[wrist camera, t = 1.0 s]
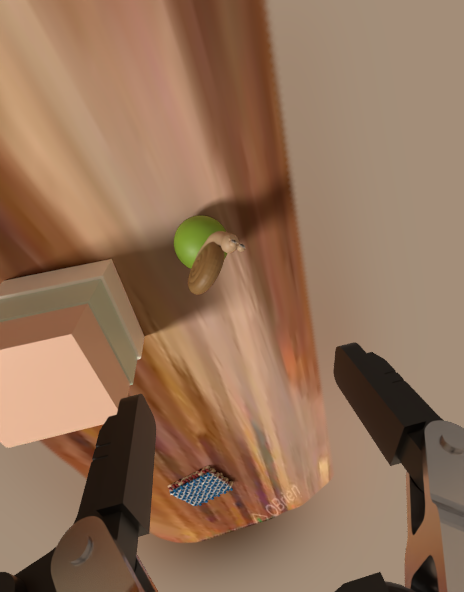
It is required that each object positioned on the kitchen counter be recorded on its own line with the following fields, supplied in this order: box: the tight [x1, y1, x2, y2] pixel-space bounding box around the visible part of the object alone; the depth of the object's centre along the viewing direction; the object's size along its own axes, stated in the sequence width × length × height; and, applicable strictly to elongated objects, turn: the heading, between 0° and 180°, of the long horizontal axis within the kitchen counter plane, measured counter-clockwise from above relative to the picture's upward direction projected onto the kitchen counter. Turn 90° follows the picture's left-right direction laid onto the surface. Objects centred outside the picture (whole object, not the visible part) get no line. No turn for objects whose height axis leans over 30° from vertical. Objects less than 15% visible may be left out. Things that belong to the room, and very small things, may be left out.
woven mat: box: [168, 466, 233, 506], centre depth 55 cm, size 10×11×2 cm
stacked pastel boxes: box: [0, 259, 144, 448], centre depth 26 cm, size 11×11×12 cm
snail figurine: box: [174, 215, 245, 295], centre depth 23 cm, size 5×6×12 cm
